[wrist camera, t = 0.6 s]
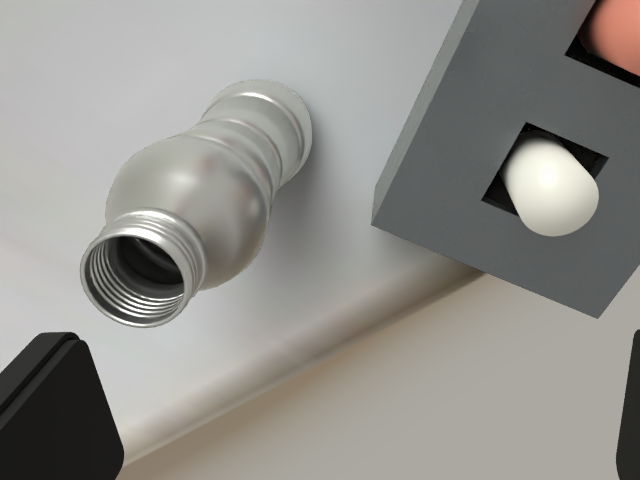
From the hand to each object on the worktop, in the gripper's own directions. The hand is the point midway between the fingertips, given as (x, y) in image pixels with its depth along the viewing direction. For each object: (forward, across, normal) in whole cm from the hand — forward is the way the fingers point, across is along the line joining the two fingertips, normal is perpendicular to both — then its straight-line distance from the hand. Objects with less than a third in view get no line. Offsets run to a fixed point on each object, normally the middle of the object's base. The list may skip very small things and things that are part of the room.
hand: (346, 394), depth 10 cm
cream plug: (+24, -8, +4) cm, 26 cm away
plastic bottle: (+27, +8, +2) cm, 29 cm away
